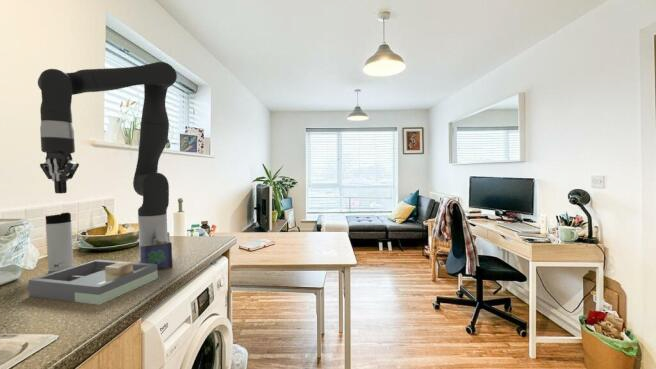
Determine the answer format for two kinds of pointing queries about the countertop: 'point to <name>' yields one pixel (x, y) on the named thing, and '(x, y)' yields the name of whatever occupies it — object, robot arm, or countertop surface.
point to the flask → (157, 254)
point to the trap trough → (90, 282)
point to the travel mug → (59, 242)
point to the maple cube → (118, 270)
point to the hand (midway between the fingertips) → (60, 193)
